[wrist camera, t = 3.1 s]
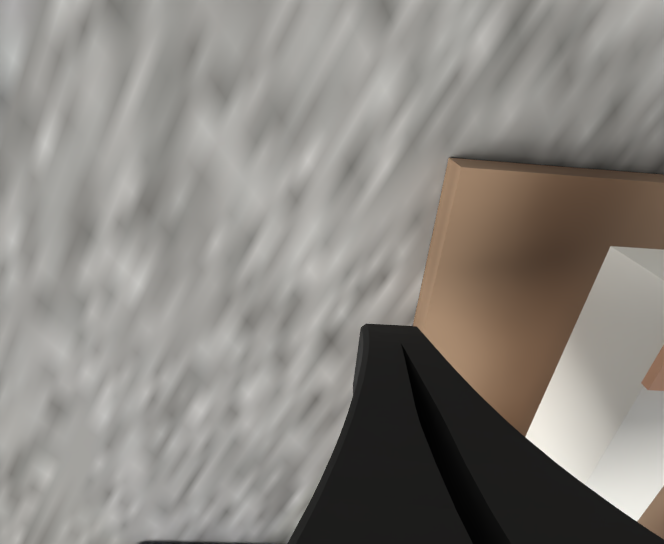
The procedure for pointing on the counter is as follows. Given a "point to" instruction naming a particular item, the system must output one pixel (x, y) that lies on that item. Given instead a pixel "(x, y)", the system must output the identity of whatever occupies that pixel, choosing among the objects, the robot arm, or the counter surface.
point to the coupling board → (526, 272)
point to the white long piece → (612, 386)
